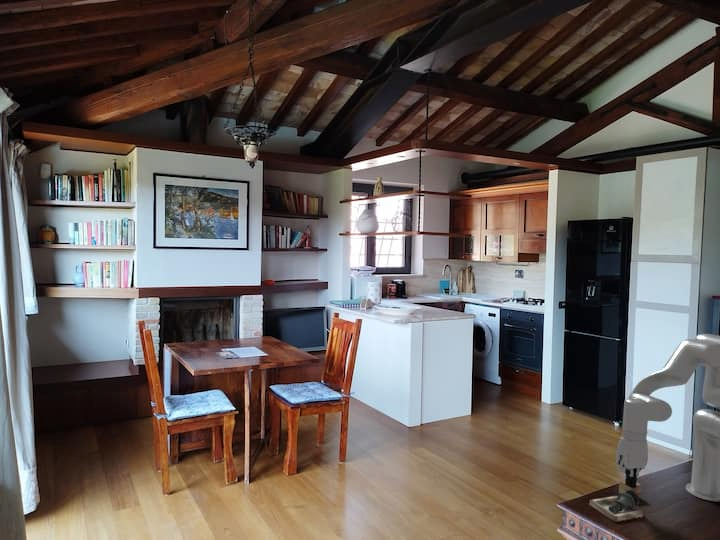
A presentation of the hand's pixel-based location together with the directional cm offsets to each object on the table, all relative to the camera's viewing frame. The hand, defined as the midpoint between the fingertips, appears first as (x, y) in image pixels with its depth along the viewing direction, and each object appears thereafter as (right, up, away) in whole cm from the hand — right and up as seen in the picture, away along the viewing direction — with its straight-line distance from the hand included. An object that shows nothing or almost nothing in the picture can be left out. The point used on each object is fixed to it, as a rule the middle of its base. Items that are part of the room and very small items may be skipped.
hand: (630, 486), depth 182 cm
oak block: (+5, -8, +10) cm, 14 cm away
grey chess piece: (+1, -4, 0) cm, 4 cm away
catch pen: (-6, -8, -1) cm, 10 cm away
